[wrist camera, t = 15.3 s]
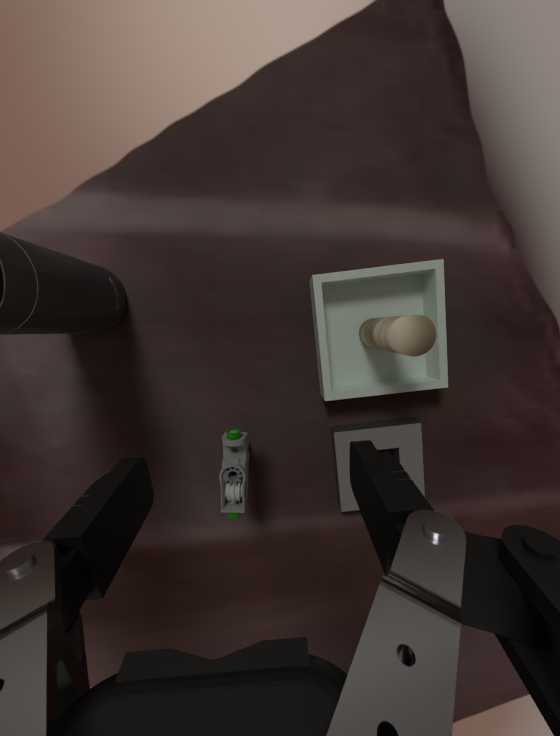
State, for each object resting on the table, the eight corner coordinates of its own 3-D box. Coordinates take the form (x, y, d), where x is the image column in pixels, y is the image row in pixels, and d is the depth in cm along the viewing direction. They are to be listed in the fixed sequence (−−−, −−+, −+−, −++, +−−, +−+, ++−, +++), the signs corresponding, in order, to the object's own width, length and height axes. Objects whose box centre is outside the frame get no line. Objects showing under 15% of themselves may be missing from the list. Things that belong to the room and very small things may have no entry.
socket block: (338, 501, 43) (341, 511, 40) (330, 426, 41) (333, 432, 39) (416, 493, 42) (425, 503, 40) (412, 417, 41) (421, 423, 38)
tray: (320, 394, 40) (324, 401, 36) (309, 280, 38) (312, 275, 34) (431, 381, 40) (448, 387, 36) (426, 266, 38) (443, 259, 34)
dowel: (360, 348, 39) (395, 359, 27) (357, 320, 38) (393, 317, 26) (388, 345, 39) (437, 353, 27) (386, 316, 38) (435, 312, 26)
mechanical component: (254, 409, 41) (245, 434, 31) (254, 474, 42) (245, 519, 32) (233, 408, 41) (218, 434, 31) (234, 474, 42) (220, 518, 32)
